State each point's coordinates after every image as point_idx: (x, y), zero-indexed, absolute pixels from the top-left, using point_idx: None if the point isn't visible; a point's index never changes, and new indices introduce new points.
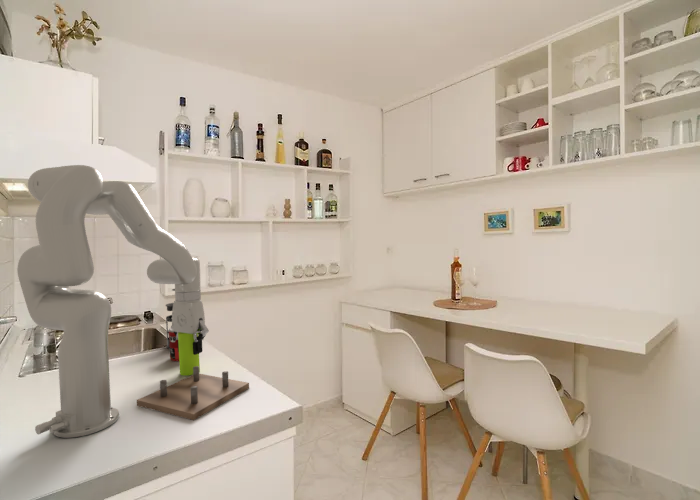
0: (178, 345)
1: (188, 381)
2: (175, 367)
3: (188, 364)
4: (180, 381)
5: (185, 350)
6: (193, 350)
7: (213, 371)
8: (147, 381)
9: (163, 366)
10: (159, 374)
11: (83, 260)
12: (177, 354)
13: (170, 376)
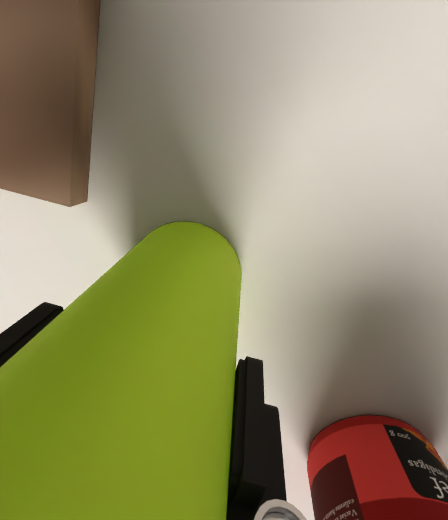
0: (251, 409)
1: (6, 43)
2: (325, 337)
3: (133, 251)
4: (61, 30)
5: (91, 301)
6: (31, 324)
7: (71, 299)
8: (382, 95)
9: (412, 347)
10: (365, 228)
11: None
12: (378, 450)
13: (269, 204)
